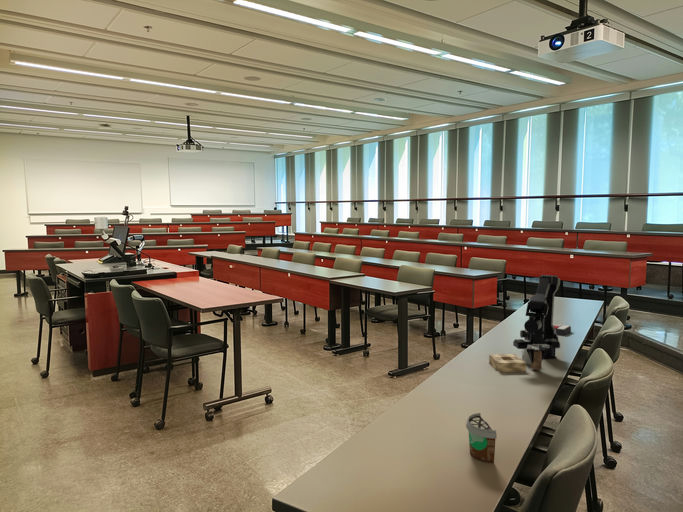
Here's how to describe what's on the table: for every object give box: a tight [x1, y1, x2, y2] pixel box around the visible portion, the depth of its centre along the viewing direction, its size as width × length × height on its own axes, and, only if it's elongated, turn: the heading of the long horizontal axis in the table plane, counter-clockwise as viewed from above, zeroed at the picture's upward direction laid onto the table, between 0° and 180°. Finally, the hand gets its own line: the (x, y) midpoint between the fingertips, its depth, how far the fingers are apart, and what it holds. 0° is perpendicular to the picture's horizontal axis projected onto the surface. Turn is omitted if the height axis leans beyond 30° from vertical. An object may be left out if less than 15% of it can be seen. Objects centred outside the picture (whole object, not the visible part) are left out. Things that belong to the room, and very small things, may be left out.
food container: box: [465, 412, 498, 464], centre depth 134 cm, size 12×6×10 cm, turn 5°
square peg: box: [529, 348, 543, 370], centre depth 204 cm, size 3×3×8 cm
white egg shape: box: [521, 346, 536, 366], centre depth 214 cm, size 6×6×7 cm
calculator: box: [553, 323, 572, 336], centre depth 268 cm, size 11×4×15 cm
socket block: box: [488, 353, 527, 373], centre depth 209 cm, size 12×12×4 cm
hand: (535, 362), depth 204 cm, fingers closed on square peg, 3 cm apart
